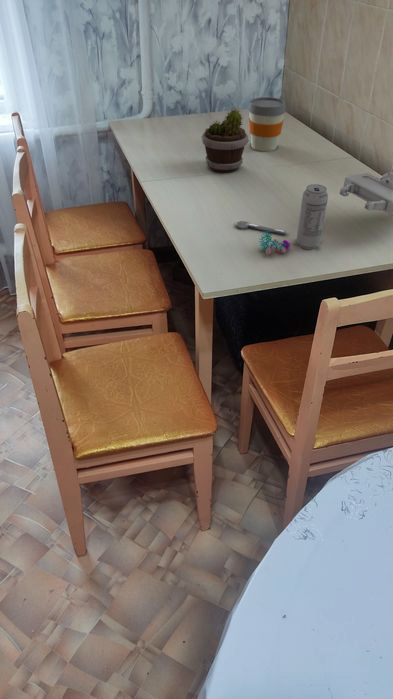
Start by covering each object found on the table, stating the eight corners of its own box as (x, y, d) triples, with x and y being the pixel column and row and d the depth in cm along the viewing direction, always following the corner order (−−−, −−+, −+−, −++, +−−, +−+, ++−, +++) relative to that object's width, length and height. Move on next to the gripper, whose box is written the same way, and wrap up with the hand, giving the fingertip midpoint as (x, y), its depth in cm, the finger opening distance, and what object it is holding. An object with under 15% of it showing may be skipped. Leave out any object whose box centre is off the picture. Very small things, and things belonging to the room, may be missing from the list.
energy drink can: (317, 239, 141) (327, 183, 131) (321, 250, 136) (331, 193, 127) (294, 238, 141) (302, 182, 131) (297, 250, 136) (305, 193, 127)
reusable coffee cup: (264, 155, 187) (267, 109, 177) (239, 145, 194) (241, 101, 185) (288, 147, 193) (293, 102, 183) (263, 138, 200) (267, 94, 191)
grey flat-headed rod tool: (287, 231, 144) (288, 228, 143) (284, 237, 141) (284, 234, 141) (239, 222, 148) (239, 218, 147) (234, 227, 145) (234, 224, 145)
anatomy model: (294, 244, 129) (290, 227, 134) (260, 244, 129) (258, 228, 134) (291, 261, 133) (288, 244, 138) (259, 261, 133) (256, 245, 138)
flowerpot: (191, 166, 179) (191, 102, 166) (225, 155, 187) (228, 93, 174) (221, 179, 170) (224, 113, 158) (255, 167, 178) (260, 103, 165)
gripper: (369, 164, 147) (329, 173, 142) (427, 191, 133) (385, 202, 128) (365, 186, 151) (325, 196, 146) (420, 215, 137) (379, 227, 132)
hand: (354, 199), depth 137 cm, fingers open, 8 cm apart
